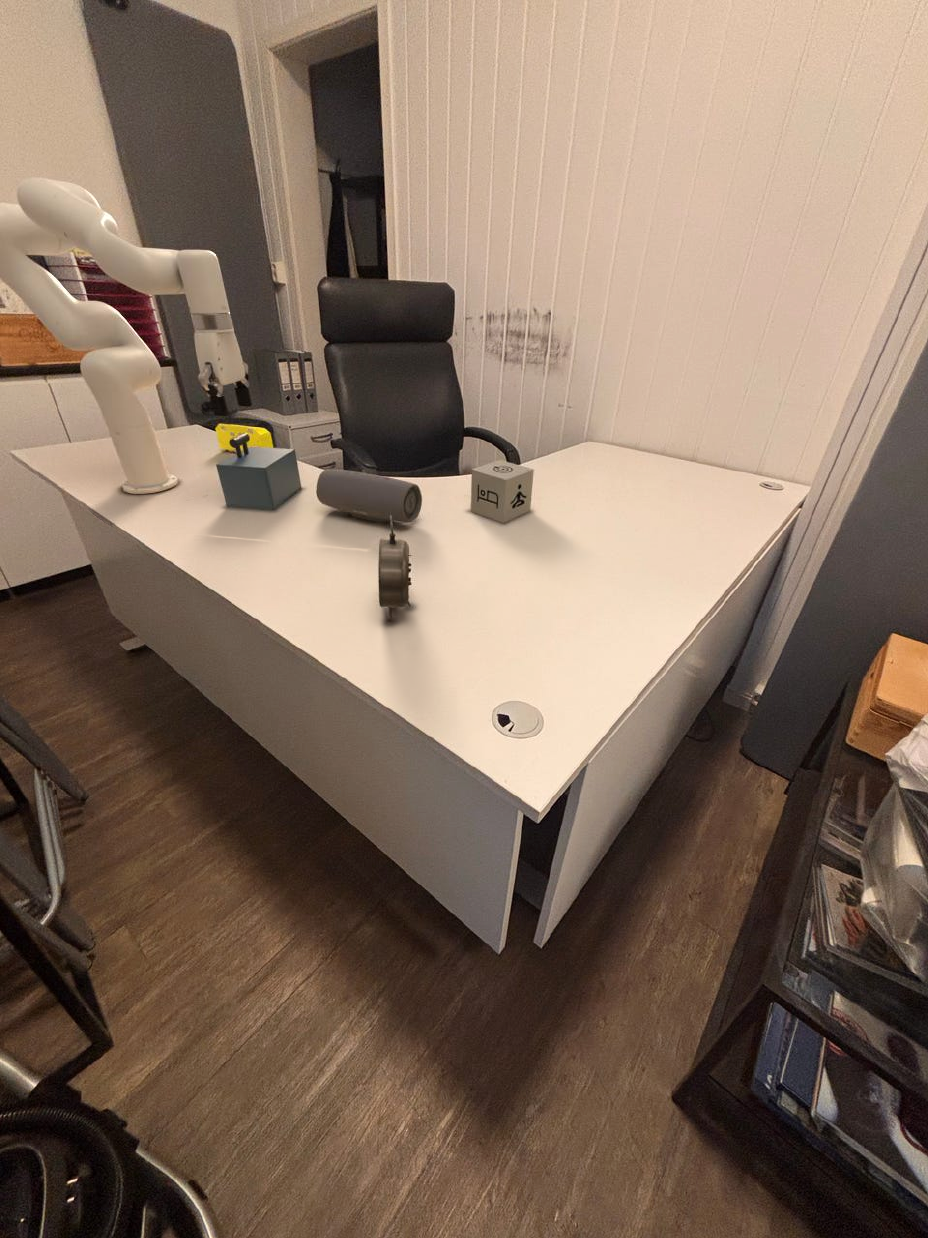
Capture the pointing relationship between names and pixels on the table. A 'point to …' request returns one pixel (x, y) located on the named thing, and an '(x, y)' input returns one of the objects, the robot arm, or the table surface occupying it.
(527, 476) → the icon cube
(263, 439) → the yellow toy chassis
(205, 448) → the table surface
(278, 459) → the blue-grey square box
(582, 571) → the table surface
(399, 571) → the alarm clock
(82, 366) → the robot arm
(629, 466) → the table surface
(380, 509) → the bluetooth speaker
